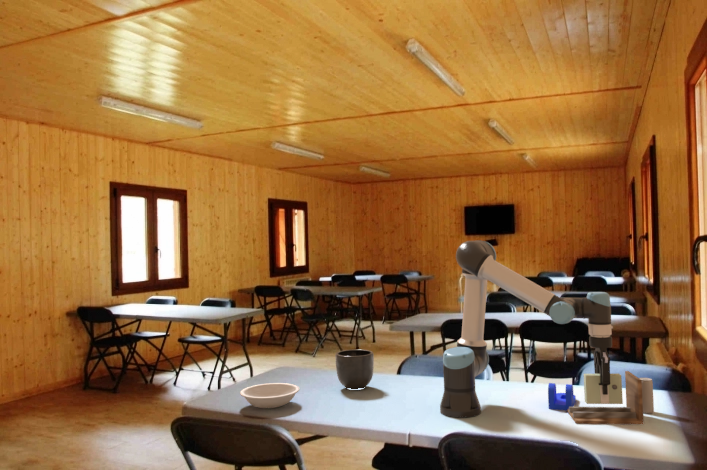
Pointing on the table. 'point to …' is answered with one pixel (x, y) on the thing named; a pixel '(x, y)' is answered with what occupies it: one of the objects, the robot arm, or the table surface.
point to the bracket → (560, 397)
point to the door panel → (594, 389)
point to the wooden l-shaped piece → (614, 414)
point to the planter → (354, 367)
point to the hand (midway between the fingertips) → (603, 401)
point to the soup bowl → (269, 394)
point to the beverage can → (647, 395)
